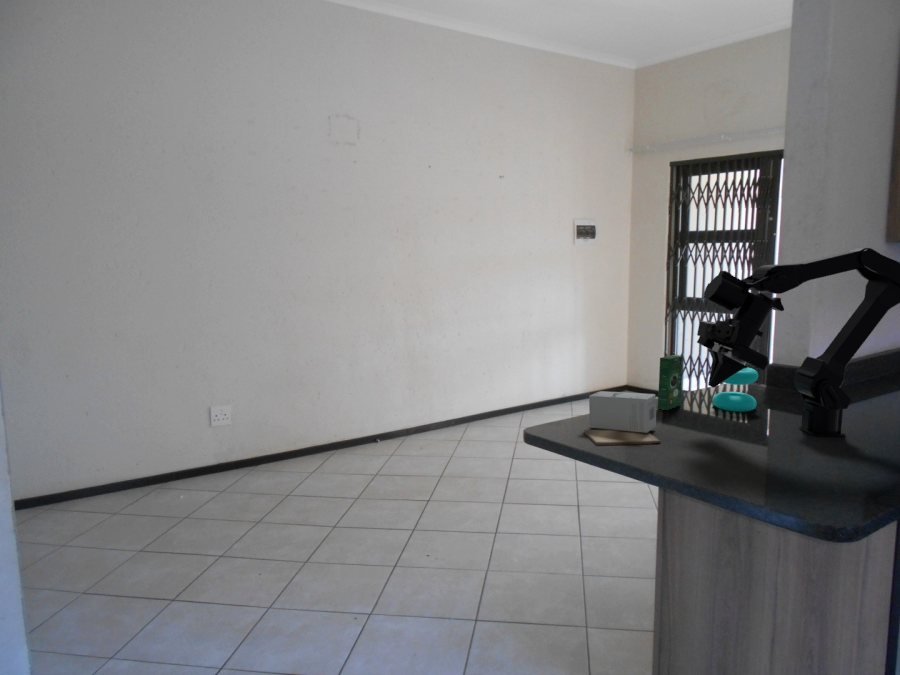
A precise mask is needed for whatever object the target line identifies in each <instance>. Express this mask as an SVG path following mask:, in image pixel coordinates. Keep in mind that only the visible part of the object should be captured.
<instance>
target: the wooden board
mask: <svg viewBox="0 0 900 675" xmlns="http://www.w3.org/2000/svg"><path fill="white" fill-rule="evenodd" d="M583 433H584V434H585V435H586V437H588V438H589V439H590V440H591V441H592V442H593V443H594V444H595V445H596V446H610V445H611V446H612V445H614V446H615V445H619V446H620V445H621V446H623V445H651V444H653V443H654V444H655V443H660V444H661V440H660V439H658V438H657V437H655V436H654V435H653V434H651V433H650V431H649V432H647V433H643V432H632V431H621V430H610V429H585V430H584V432H583ZM654 444H653V445H654Z"/></svg>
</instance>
